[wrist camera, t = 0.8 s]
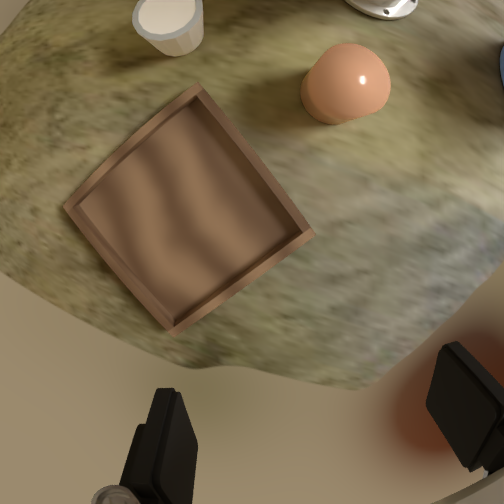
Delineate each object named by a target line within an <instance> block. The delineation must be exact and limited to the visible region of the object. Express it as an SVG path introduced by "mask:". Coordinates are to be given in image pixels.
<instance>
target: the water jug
mask: <svg viewBox="0 0 504 504" xmlns="http://www.w3.org/2000/svg"><path fill="white" fill-rule="evenodd" d="M500 72H501V78H502V82H503V86H504V46H503V48H502V51H501V55H500Z"/></svg>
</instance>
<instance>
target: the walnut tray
mask: <svg viewBox="0 0 504 504" xmlns="http://www.w3.org/2000/svg"><path fill="white" fill-rule="evenodd" d="M63 208H64V209H65V210H66V212H67V213H68V214H69V216H70V217H71V219H72V220H73V221H74V223H75V224H76V225H77V226H78V228H79V229H80V230H81V232H82V233H83V234H84V236H85V237H86V238H87V239H88V241H89V242H90V243H91V245H92V246H93V247H94V248H95V250H96V251H97V252H98V253H99V254H100V256H101V257H102V258H103V259H104V261H105V262H106V263H107V264H108V265H109V267H110V268H111V269H112V270H113V271H114V273H115V274H116V275H117V276H118V277H119V278H120V280H121V281H122V282H123V283H124V284H125V285H126V287H127V288H128V289H129V290H130V291H131V292H132V293H133V294H134V296H135V297H136V298H137V299H138V300H139V301H140V302H141V303H142V305H143V306H144V307H145V308H146V309H147V310H148V311H149V312H150V313H151V314H152V315H153V316H154V318H155V319H156V320H157V321H158V322H159V323H160V324H161V325H162V326H163V327H164V328H165V329H166V330H167V331H168V332H169V333H170V334H171V335H172V336H173V337H175V336H176V335H178V334H179V333H181V332H182V331H184V330H185V329H186V328H188V327H189V326H191V325H192V324H193V323H195V322H196V321H198V320H199V319H201V318H202V317H203V316H205V315H206V314H208V313H209V312H210V311H212V310H213V309H215V308H216V307H218V306H219V305H220V304H222V303H223V302H225V301H226V300H227V299H229V298H230V297H232V296H233V295H234V294H236V293H237V292H239V291H240V290H241V289H243V288H244V287H245V286H247V285H248V284H250V283H251V282H252V281H254V280H255V279H257V278H258V277H259V276H261V275H262V274H263V273H265V272H266V271H268V270H269V269H270V268H272V267H273V266H274V265H276V264H277V263H279V262H280V261H281V260H283V259H284V258H285V257H287V256H288V255H289V254H291V253H292V252H294V251H295V250H296V249H298V248H299V247H300V246H302V245H303V244H304V243H306V242H307V241H308V240H310V239H311V238H312V237H314V236H315V235H316V234H315V232H314V231H313V229H312V228H311V227H310V225H309V224H308V222H307V221H306V220H305V218H304V217H303V215H302V214H301V213H300V211H299V210H298V209H297V207H296V206H295V204H294V203H293V202H292V200H291V199H290V198H289V196H288V195H287V194H286V192H285V191H284V189H283V188H282V187H281V185H280V184H279V183H278V181H277V180H276V179H275V177H274V176H273V175H272V173H271V172H270V171H269V170H268V168H267V167H266V166H265V164H264V163H263V162H262V160H261V159H260V158H259V157H258V155H257V154H256V153H255V151H254V150H253V149H252V147H251V146H250V145H249V144H248V142H247V141H246V140H245V139H244V137H243V136H242V135H241V134H240V132H239V131H238V130H237V129H236V127H235V126H234V125H233V124H232V122H231V121H230V120H229V119H228V117H227V116H226V115H225V114H224V112H223V111H222V110H221V109H220V108H219V106H218V105H217V104H216V103H215V101H214V100H213V99H212V98H211V97H210V95H209V94H208V93H207V92H206V91H205V90H204V88H203V87H202V86H201V85H200V84H199V82H197V83H195V84H194V85H193V86H191V87H190V88H189V89H187V90H186V91H185V92H184V93H182V94H181V95H180V96H178V97H177V98H176V99H175V100H173V101H172V102H171V103H170V104H168V105H167V106H166V107H165V108H163V109H162V110H161V111H160V112H159V113H157V114H156V115H155V116H154V117H153V118H151V119H150V120H149V121H148V122H147V123H146V124H144V125H143V126H142V127H141V128H140V129H139V130H138V131H137V132H135V133H134V134H133V135H132V136H131V137H130V138H129V139H128V140H127V141H125V142H124V143H123V144H122V145H121V146H120V147H119V148H118V149H117V150H116V151H115V152H114V153H113V154H112V155H111V156H110V157H109V158H108V159H107V160H106V161H105V162H104V163H103V164H102V165H101V166H100V167H99V168H98V169H97V170H96V171H95V172H94V173H93V174H92V175H91V176H90V177H89V178H88V179H87V180H86V181H85V182H84V183H83V184H82V185H81V186H80V187H79V188H78V189H77V191H76V192H75V193H74V194H73V195H72V196H71V197H70V198H69V199H68V200H67V202H66V203H65V204H64V205H63Z"/></svg>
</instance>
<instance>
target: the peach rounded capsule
mask: <svg viewBox="0 0 504 504" xmlns="http://www.w3.org/2000/svg"><path fill="white" fill-rule="evenodd" d="M390 89H391V83H390V77H389V74H388V71H387V69H386V67H385V65H384V64H383V62H382V61H381V60H380V58H379V57H378V56H377V55H376V54H374V53H373V52H372V51H370V50H369V49H367V48H365V47H363V46H360V45H357V44H351V43H343V44H338V45H335V46H333V47H331V48H329V49H328V50H327V51H326V52H325V53H324V54H323V55H322V56H321V57H320V59H319V60H318V61H317V62H316V64H315V65H314V66H313V67H312V68H311V70H310V71H309V72H308V73H307V75H306V76H305V77H304V79H303V81H302V83H301V87H300V97H301V101H302V103H303V105H304V107H305V109H306V110H307V112H308V113H309V114H310V115H311V116H312V117H314V118H315V119H317V120H318V121H320V122H323V123H326V124H341V123H345V122H348V121H351V120H354V119H357V118H360V117H363V116H366V115H369V114H372V113H375V112H376V111H378V110H379V109H381V108H382V107H383V106H384V105H385V103H386V102H387V100H388V97H389V94H390Z"/></svg>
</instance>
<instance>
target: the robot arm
mask: <svg viewBox="0 0 504 504" xmlns="http://www.w3.org/2000/svg"><path fill="white" fill-rule="evenodd" d="M345 1H346V2H347V3H348V4H350V5H351V6H353V7H354V8H356V9H357V10H359V11H361V12H363V13H365V14H367V15H370V16H372V17H376V18H380V19H385V20H397V19H401V18H404V17H406V16H408V15H409V14H410V13H412V12H413V11H414V10H415V8H416V6H417V4H418V0H345ZM426 407H427V409H428V411H429V413H430V414H431V416H432V417H433V419H434V421H435V422H436V424H437V425H438V427H439V428H440V430H441V432H442V433H443V435H444V436H445V438H446V439H447V441H448V443H449V444H450V446H451V447H452V449H453V451H454V452H455V454H456V456H457V457H458V459H459V461H460V462H461V464H462V465H463V467H465V468H466V467H467V468H468V470H469V472H473V471H475V470H476V469H478V468H480V467H481V466H483V467H484V469H485V470H484V475H483V479H482V480H480V481H478V482H476V483H474V484H472V485H470V486H469V487H466V488H464V489H462V490H460V491H458V492H456V493H454V494H452V495H450V496H448V497H445V498H443V499H441V500H439V501H436V502H434V503H432V504H504V388H503V387H502V386H501V385H500V384H499V383H498V381H497V380H496V379H495V378H494V377H493V376H492V375H491V374H490V373H489V372H488V371H487V370H486V369H485V368H484V367H483V366H482V365H481V364H480V363H479V362H478V361H477V360H476V359H475V358H474V357H473V356H472V355H471V354H470V353H469V352H468V351H467V350H466V349H465V348H464V347H463V346H462V345H461V344H460V343H459V342H458V341H455V342H451V343H448V344H445V345H443V346H442V349H441V350H440V351H439V353H438V357H437V361H436V366H435V370H434V374H433V377H432V381H431V385H430V389H429V392H428V396H427V399H426ZM197 452H198V443H197V439H196V436H195V433H194V431H193V428H192V425H191V422H190V419H189V416H188V414H187V411H186V408H185V405H184V402H183V399H182V396H181V393H180V392H176V391H175V389H174V388H158V389H157V390H156V392H155V395H154V398H153V401H152V405H151V408H150V411H149V414H148V418H147V421H146V424H139V425H138V426H137V429H136V431H135V435H134V438H133V441H132V444H131V447H130V450H129V453H128V457H127V460H126V463H125V466H124V470H123V473H122V476H121V480H120V483H119V485H109V486H106V487H103V488H101V489H100V490H98V491H97V492H96V493H95V494H94V496H93V498H92V501H91V504H192V498H193V489H194V480H195V470H196V461H197Z"/></svg>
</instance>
